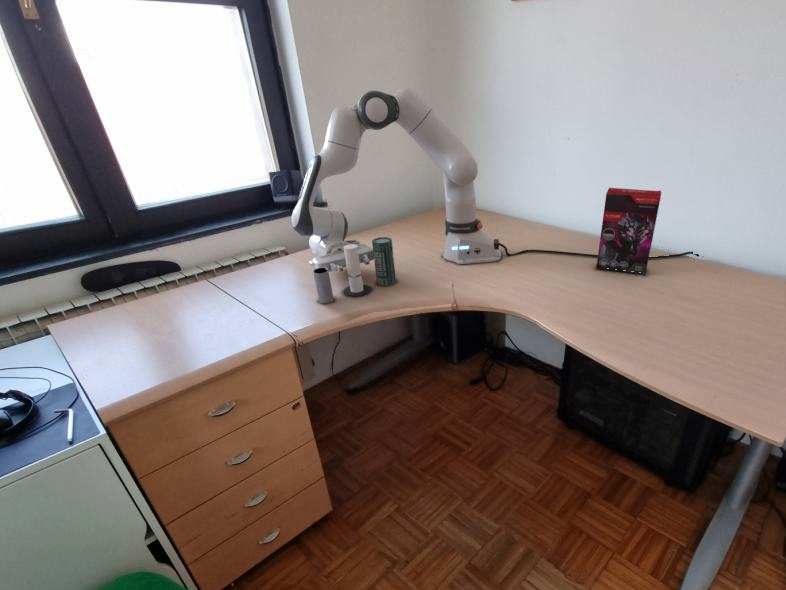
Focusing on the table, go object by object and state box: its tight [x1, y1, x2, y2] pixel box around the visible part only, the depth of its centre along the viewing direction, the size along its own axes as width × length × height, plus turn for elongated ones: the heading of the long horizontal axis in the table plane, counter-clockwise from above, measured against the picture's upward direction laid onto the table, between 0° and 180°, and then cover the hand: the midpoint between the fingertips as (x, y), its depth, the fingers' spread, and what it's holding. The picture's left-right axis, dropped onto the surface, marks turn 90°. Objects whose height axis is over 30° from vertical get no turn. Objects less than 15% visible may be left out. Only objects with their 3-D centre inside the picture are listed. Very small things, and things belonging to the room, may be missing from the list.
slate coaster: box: [343, 284, 372, 298], centre depth 151 cm, size 9×9×1 cm
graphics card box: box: [596, 187, 662, 275], centre depth 155 cm, size 17×7×27 cm, turn 68°
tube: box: [344, 244, 364, 293], centre depth 147 cm, size 4×4×15 cm
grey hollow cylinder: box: [312, 268, 334, 304], centre depth 143 cm, size 4×4×10 cm
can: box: [371, 236, 397, 287], centre depth 153 cm, size 6×6×15 cm
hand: (354, 265), depth 146 cm, fingers open, 8 cm apart
